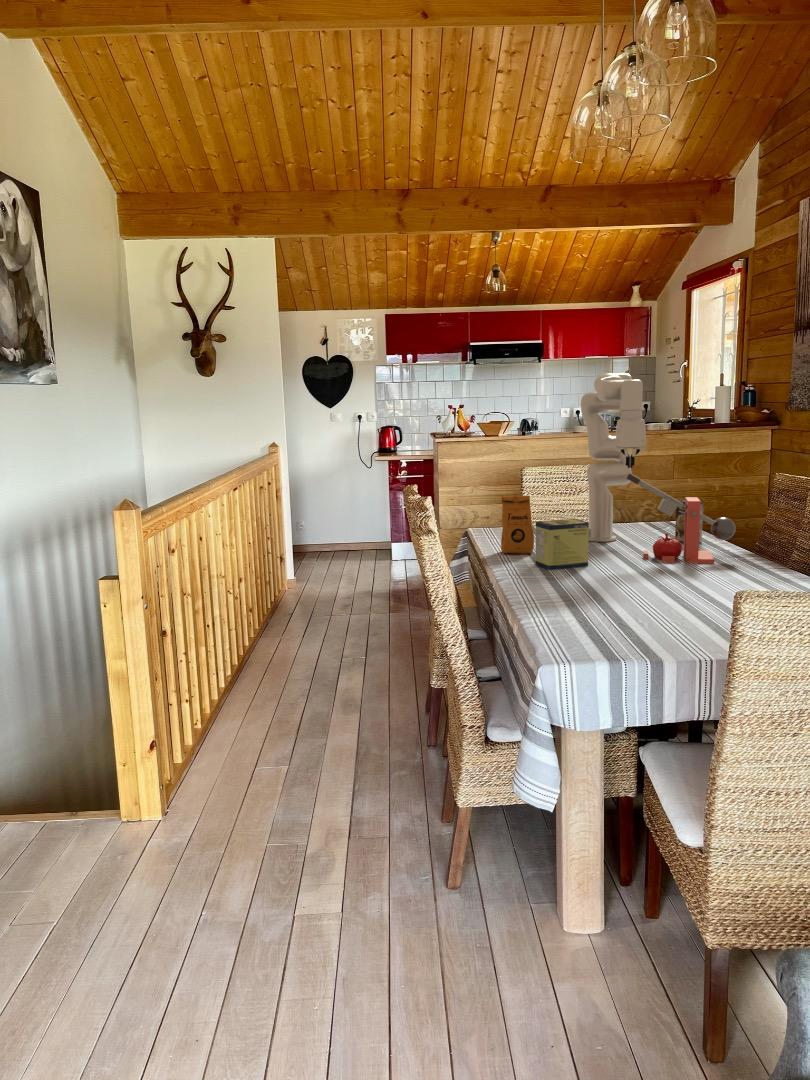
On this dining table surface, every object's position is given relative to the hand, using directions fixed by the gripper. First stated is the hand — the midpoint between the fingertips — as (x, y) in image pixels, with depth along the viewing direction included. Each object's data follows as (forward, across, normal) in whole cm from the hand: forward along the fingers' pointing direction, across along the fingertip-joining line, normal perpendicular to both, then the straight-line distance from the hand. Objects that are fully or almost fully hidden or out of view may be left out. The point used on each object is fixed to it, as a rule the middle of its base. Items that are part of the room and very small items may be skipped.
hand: (630, 467), depth 280 cm
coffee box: (+32, +23, +37) cm, 54 cm away
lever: (+18, +15, 0) cm, 23 cm away
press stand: (+33, +17, +1) cm, 37 cm away
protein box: (+33, -23, -16) cm, 43 cm away
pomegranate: (+33, +13, 0) cm, 35 cm away
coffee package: (+33, -41, +4) cm, 52 cm away
